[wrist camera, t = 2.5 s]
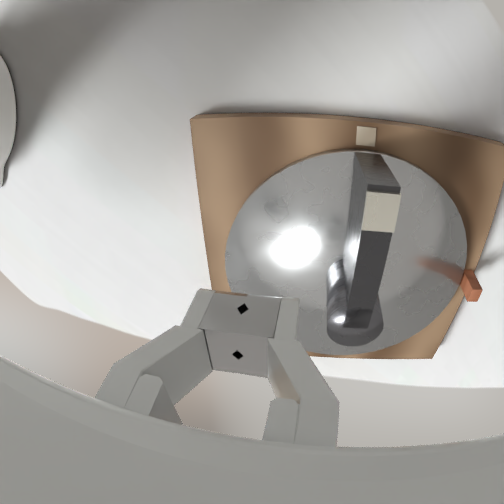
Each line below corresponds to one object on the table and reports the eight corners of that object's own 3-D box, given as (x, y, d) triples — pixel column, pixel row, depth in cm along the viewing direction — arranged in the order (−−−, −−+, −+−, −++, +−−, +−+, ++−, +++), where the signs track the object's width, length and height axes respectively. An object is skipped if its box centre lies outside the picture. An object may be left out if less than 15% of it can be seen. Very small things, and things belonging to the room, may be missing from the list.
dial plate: (224, 336, 33) (215, 367, 29) (197, 114, 20) (174, 128, 17) (429, 347, 29) (436, 377, 26) (500, 142, 17) (529, 160, 13)
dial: (423, 350, 27) (433, 401, 22) (236, 340, 30) (222, 392, 25) (489, 167, 17) (535, 208, 12) (216, 143, 20) (182, 178, 15)
